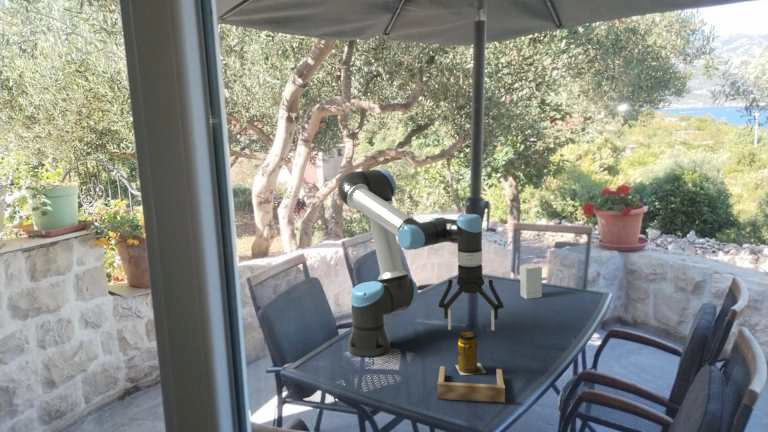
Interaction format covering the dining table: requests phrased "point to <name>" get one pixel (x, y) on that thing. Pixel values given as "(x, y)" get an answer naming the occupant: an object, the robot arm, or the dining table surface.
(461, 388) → the bay
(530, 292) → the skincare box
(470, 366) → the condiment
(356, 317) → the robot arm
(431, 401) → the dining table surface
